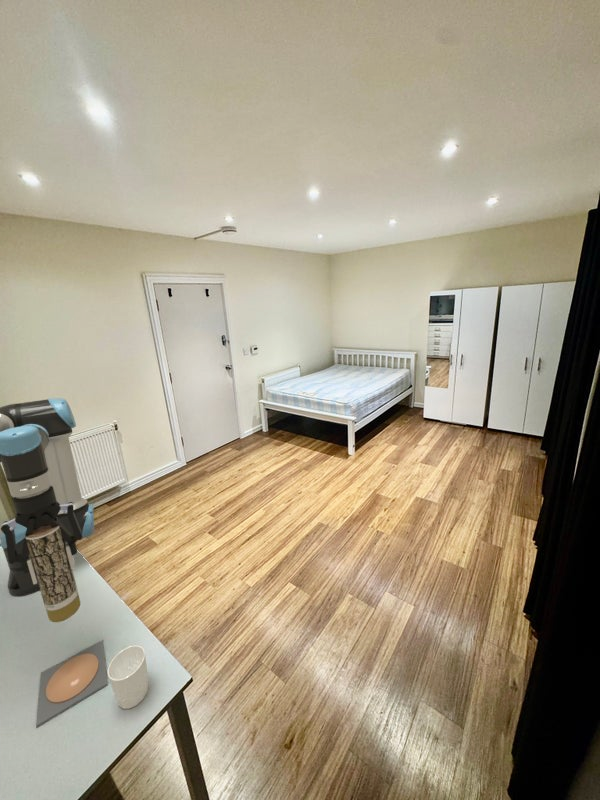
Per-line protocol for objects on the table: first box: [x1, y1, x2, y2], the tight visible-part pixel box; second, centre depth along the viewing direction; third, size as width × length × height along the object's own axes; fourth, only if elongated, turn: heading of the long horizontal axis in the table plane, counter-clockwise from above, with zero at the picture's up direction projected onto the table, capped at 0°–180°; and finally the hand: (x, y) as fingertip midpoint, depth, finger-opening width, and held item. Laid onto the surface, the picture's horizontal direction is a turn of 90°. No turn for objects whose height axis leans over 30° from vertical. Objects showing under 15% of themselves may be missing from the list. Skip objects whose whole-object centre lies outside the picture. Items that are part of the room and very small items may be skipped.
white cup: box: [107, 645, 150, 710], centre depth 74 cm, size 8×8×10 cm
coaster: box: [35, 639, 109, 728], centre depth 79 cm, size 14×14×1 cm
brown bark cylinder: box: [25, 522, 81, 623], centre depth 78 cm, size 7×7×25 cm
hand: (55, 572), depth 78 cm, fingers closed on brown bark cylinder, 7 cm apart
